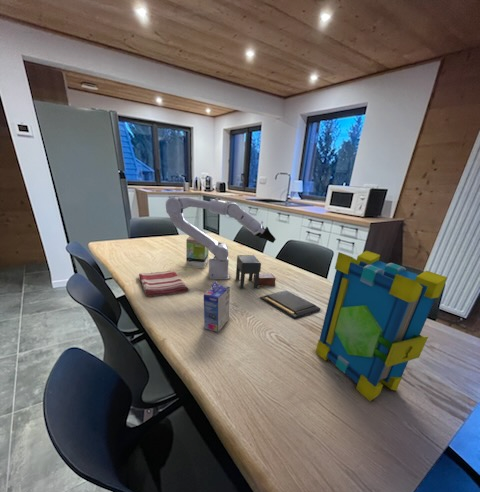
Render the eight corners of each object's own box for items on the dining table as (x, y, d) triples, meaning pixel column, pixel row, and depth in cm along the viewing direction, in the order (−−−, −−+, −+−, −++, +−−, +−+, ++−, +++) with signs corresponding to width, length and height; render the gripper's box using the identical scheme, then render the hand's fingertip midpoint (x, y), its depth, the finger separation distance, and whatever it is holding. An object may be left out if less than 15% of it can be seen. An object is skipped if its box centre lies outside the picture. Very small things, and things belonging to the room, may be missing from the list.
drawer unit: (240, 288, 117) (242, 262, 112) (235, 279, 128) (237, 254, 123) (261, 288, 119) (264, 262, 114) (254, 279, 130) (257, 255, 125)
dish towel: (146, 297, 103) (146, 291, 102) (138, 277, 121) (137, 271, 120) (188, 292, 110) (188, 286, 109) (174, 273, 129) (174, 268, 127)
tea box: (205, 268, 138) (205, 240, 132) (185, 267, 138) (185, 239, 132) (208, 260, 152) (209, 234, 145) (191, 259, 152) (191, 233, 145)
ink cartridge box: (215, 315, 94) (216, 277, 87) (229, 318, 92) (231, 280, 86) (202, 328, 85) (202, 287, 79) (218, 332, 84) (220, 290, 77)
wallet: (322, 306, 102) (294, 314, 94) (321, 310, 103) (293, 319, 95) (287, 288, 117) (260, 294, 109) (286, 292, 118) (259, 298, 110)
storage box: (256, 286, 122) (257, 277, 120) (253, 281, 127) (253, 273, 125) (274, 285, 123) (275, 277, 122) (270, 281, 129) (271, 273, 127)
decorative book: (366, 407, 60) (413, 284, 47) (305, 349, 78) (326, 250, 65) (408, 391, 65) (460, 278, 52) (341, 341, 84) (368, 248, 71)
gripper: (257, 215, 111) (281, 234, 116) (251, 214, 125) (273, 231, 129) (248, 229, 113) (272, 247, 117) (242, 227, 126) (264, 243, 130)
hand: (272, 240), depth 123 cm, fingers open, 7 cm apart
